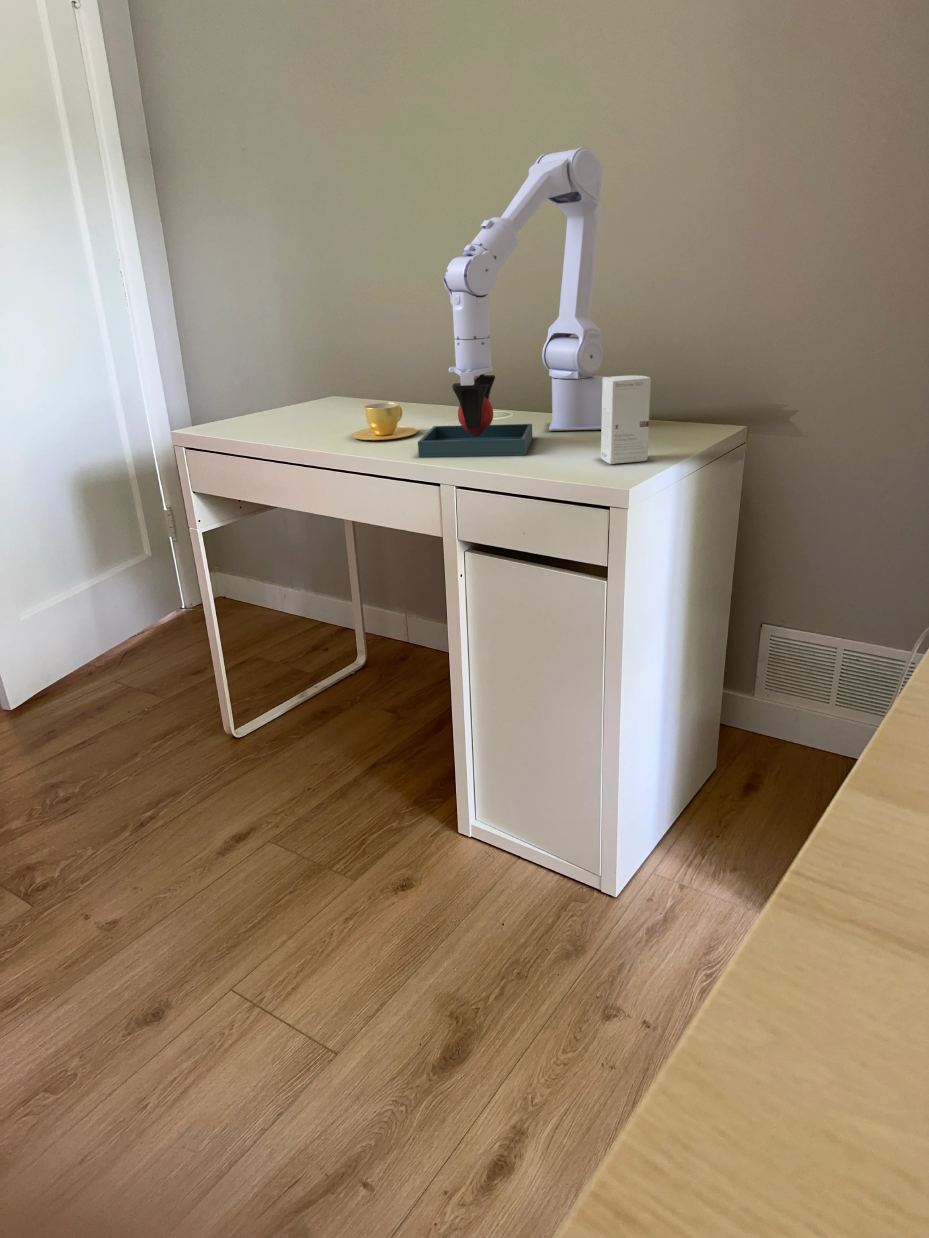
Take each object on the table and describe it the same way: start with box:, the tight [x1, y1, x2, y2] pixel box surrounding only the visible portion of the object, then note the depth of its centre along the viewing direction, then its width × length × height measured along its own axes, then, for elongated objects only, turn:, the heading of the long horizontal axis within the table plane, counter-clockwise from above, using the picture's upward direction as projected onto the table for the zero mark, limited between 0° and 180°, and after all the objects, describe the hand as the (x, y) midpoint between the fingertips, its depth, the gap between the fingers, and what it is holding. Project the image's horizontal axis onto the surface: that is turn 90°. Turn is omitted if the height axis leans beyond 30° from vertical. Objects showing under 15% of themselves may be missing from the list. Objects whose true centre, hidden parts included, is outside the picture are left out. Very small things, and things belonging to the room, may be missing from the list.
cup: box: [351, 402, 418, 441], centre depth 155 cm, size 12×12×5 cm
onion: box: [457, 397, 494, 437], centre depth 139 cm, size 6×6×8 cm
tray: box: [417, 423, 533, 458], centre depth 141 cm, size 17×13×2 cm
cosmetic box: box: [600, 374, 652, 465], centre depth 125 cm, size 6×4×12 cm
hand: (476, 424), depth 140 cm, fingers closed on onion, 6 cm apart
